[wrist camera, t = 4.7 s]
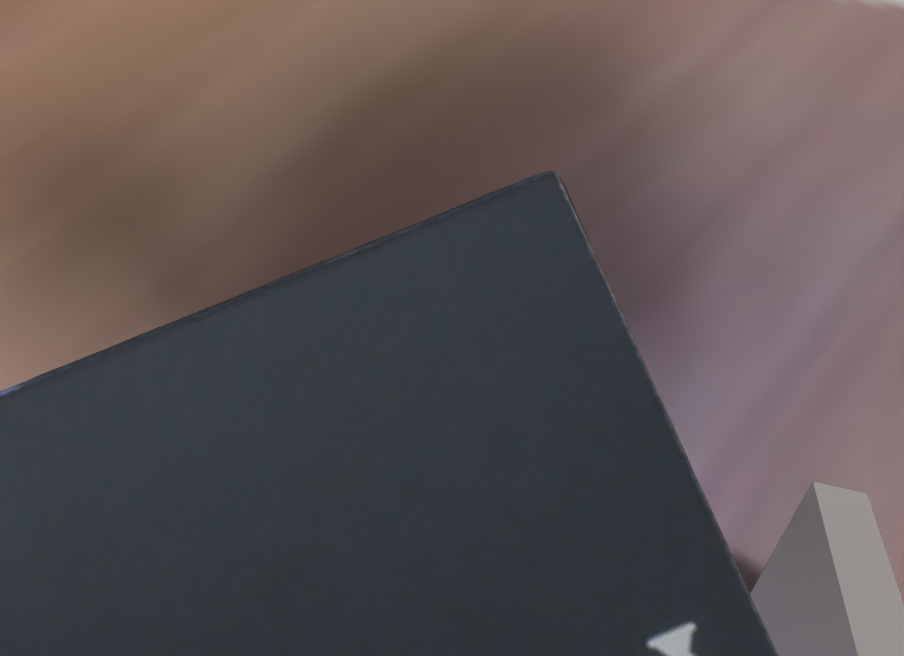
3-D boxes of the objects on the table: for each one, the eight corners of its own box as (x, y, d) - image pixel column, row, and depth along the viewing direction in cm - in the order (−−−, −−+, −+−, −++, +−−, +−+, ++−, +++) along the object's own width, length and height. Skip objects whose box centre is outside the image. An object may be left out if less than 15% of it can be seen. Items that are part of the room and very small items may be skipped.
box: (517, 332, 18) (570, 148, 8) (620, 579, 17) (837, 745, 7) (183, 466, 18) (-224, 460, 8) (270, 724, 17) (-59, 1128, 7)
